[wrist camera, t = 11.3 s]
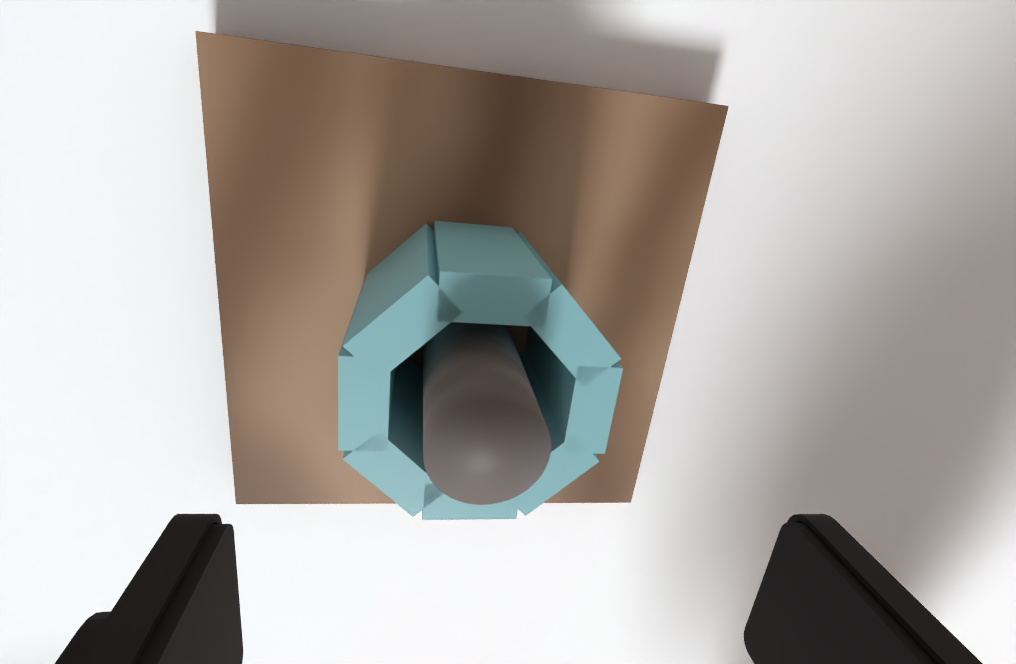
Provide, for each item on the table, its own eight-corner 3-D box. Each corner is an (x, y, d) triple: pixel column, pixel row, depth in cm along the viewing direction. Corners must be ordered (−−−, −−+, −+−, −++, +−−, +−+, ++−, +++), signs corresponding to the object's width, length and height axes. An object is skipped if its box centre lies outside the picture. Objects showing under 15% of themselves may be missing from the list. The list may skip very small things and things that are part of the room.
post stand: (706, 106, 19) (948, 103, 10) (619, 480, 25) (725, 681, 16) (214, 37, 16) (-33, -48, 7) (247, 479, 22) (132, 723, 13)
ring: (575, 233, 18) (641, 285, 13) (546, 410, 21) (591, 517, 15) (365, 214, 17) (337, 263, 12) (361, 406, 20) (338, 520, 14)
